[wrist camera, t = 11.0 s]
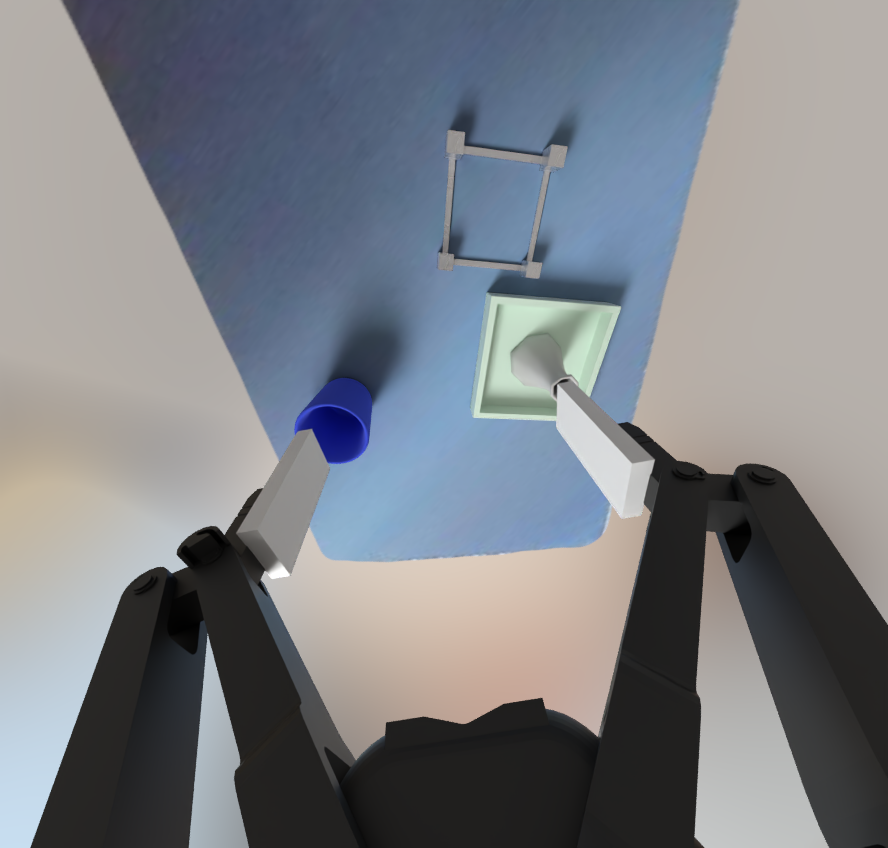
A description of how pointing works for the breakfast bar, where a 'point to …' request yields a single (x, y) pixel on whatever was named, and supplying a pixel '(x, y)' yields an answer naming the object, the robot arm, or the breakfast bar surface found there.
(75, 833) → the robot arm
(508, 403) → the bin
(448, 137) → the socket
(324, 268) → the breakfast bar surface
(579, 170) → the breakfast bar surface
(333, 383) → the mug
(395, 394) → the breakfast bar surface
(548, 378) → the flask
